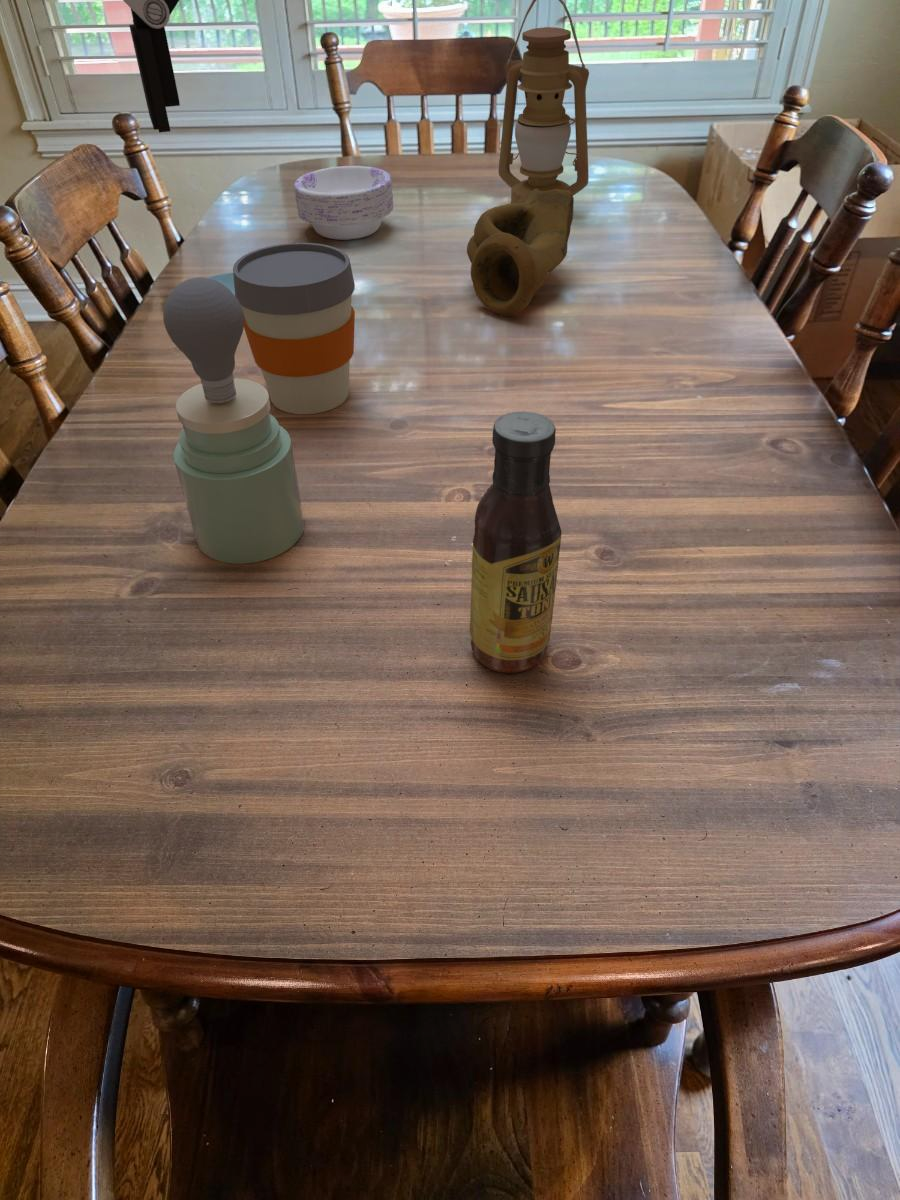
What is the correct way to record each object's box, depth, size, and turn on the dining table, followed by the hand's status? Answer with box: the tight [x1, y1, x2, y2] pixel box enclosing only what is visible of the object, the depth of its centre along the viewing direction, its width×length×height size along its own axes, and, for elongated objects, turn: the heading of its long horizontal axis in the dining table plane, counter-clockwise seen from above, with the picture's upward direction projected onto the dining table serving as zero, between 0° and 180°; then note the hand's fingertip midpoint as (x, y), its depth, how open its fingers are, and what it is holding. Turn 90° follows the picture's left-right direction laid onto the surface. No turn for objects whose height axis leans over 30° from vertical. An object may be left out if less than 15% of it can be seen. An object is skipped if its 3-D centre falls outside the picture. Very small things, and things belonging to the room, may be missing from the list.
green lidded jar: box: [173, 377, 305, 565], centre depth 76 cm, size 10×10×14 cm
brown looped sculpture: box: [466, 188, 575, 317], centre depth 119 cm, size 18×13×22 cm
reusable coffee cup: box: [232, 242, 356, 415], centre depth 95 cm, size 13×13×15 cm
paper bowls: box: [293, 165, 394, 241], centre depth 137 cm, size 15×15×8 cm
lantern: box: [498, 0, 590, 204], centre depth 135 cm, size 15×10×30 cm
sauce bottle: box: [469, 411, 563, 674], centre depth 62 cm, size 6×6×20 cm
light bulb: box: [162, 276, 244, 403], centre depth 68 cm, size 6×6×10 cm
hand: (53, 136), depth 40 cm, fingers open, 9 cm apart
